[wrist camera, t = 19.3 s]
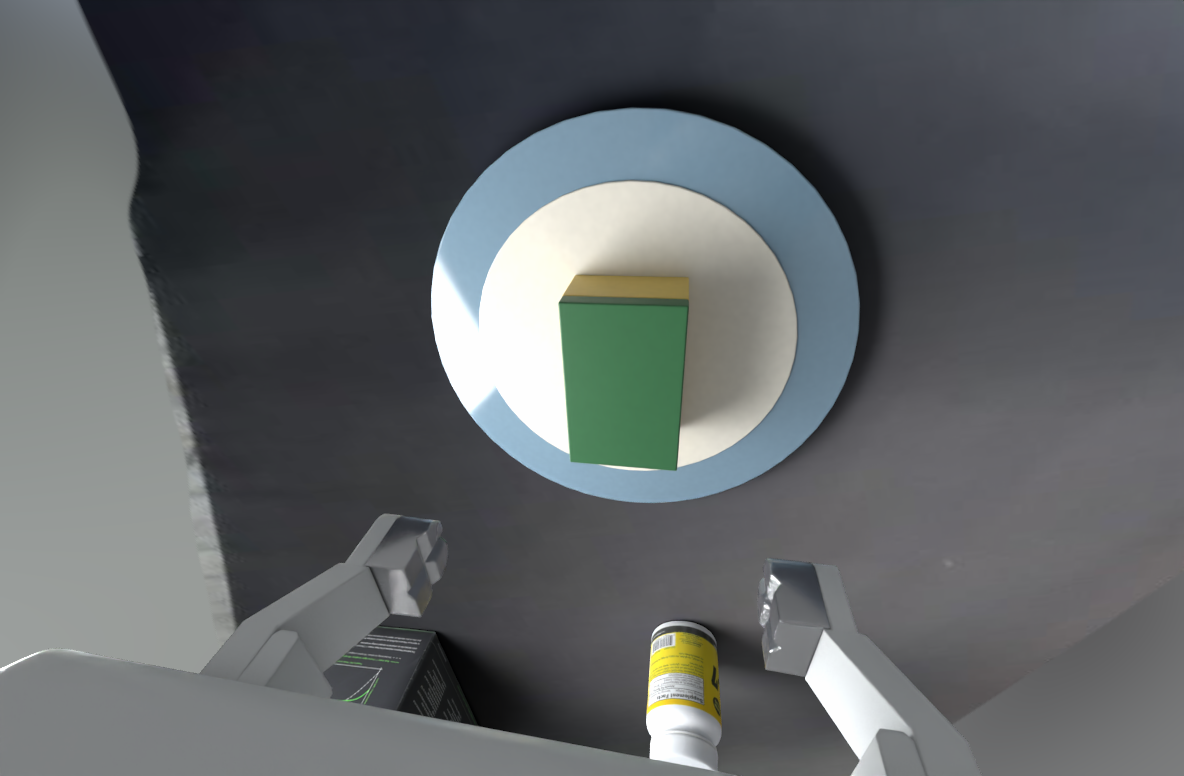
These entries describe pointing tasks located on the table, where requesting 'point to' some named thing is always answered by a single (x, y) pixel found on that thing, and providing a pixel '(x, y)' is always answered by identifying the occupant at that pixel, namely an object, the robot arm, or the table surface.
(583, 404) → the sponge
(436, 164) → the table surface
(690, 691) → the supplement bottle
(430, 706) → the headset box
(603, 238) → the plate
